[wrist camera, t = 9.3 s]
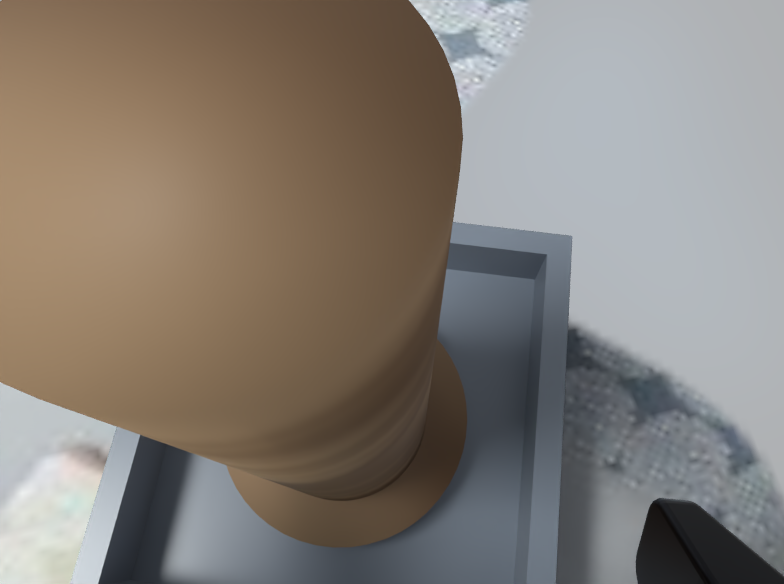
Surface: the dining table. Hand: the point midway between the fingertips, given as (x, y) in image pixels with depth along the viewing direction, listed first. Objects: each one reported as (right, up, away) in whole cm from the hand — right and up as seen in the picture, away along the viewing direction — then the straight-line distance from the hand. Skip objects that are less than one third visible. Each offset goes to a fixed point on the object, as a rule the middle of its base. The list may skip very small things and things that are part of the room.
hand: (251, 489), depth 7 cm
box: (+1, -1, +10) cm, 10 cm away
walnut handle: (0, -1, +9) cm, 9 cm away
